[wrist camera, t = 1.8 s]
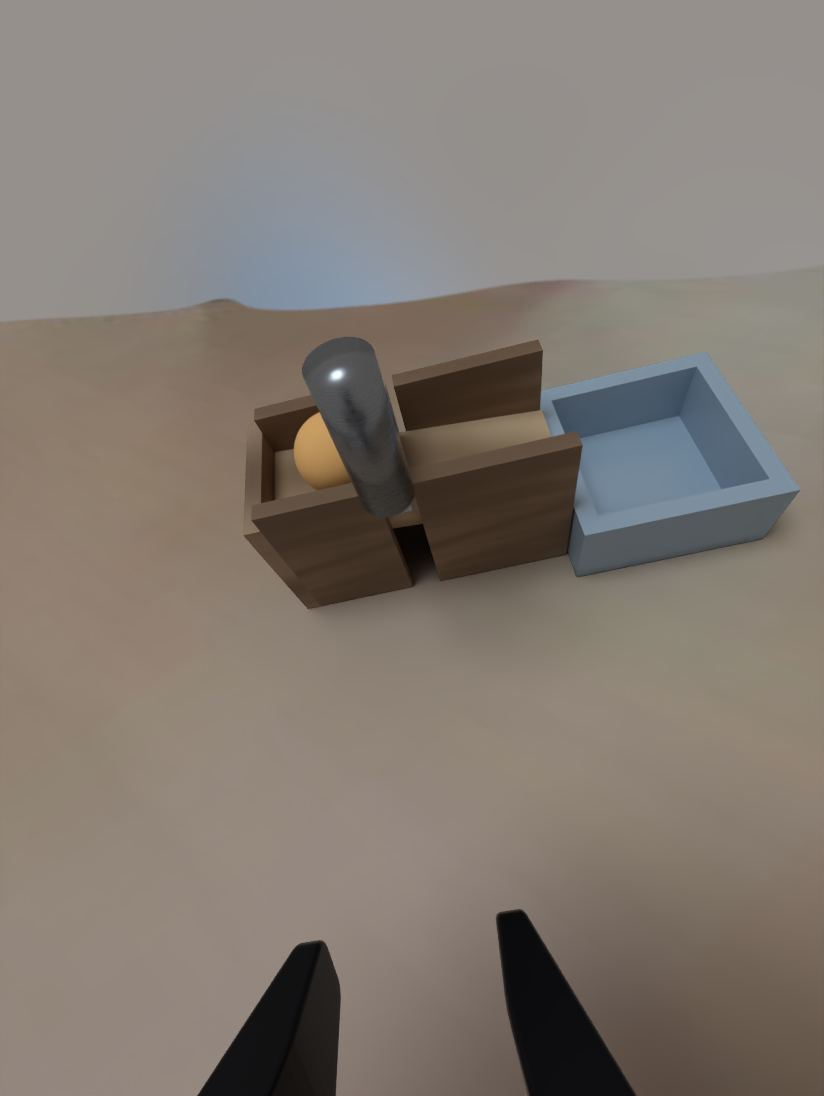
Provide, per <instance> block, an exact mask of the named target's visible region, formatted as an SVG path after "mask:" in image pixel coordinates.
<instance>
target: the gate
mask: <svg viewBox="0 0 824 1096" xmlns="http://www.w3.org/2000/svg"><path fill="white" fill-rule="evenodd" d="M302 374H303V377H304V379H305V382H306V384H307V386H308V388H309V390H310V393H311V395H312V397H313V399H314V401H315V403H316V406H317V408H318V410H319V412H320V414H321V417H322V419H323V421H324V423H325V425H326V427H327V430H328V432H329V434H330V436H331V438H332V440H333V443H334V445H335V447H336V449H337V451H338V454H339V456H340V458H341V460H342V462H343V464H344V467H345V469H346V471H347V473H348V475H349V478H350V480H351V482H352V484H353V486H354V488H355V491H356V493H357V495H358V497H359V499H360V502H361V504H362V506H363V508H364V509H365V511H366V512H368V513H369V514H370V515H372V516H375V517H379V518H389V517H393V516H396V515H398V514H402V513H406V512H411V511H413V509H412V504H411V503H412V501H413V499H414V495H415V489H414V485H413V482H412V478H411V475H410V471H409V468H408V465H407V461H406V458H405V454H404V451H403V448H402V444H401V440H400V434H399V429H398V426H397V422H396V419H395V415H394V412H393V408H392V405H391V402H390V398H389V395H388V391H387V388H386V384H385V381H384V380H383V379H382V376H381V373H380V369H379V366H378V362H377V359H376V356H375V352H374V349H373V347H372V346H371V345H370V344H369V343H368V342H367V341H365V340H363V339H360V338H356V337H341V338H336V339H333V340H330V341H327V342H325V343H323V344H321V345H320V346H318V347H317V348H315V349H314V350H313V351H312V352H311V353H310V354H309V355H308V356H307V358H306V359H305V361H304V363H303V367H302Z"/></svg>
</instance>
